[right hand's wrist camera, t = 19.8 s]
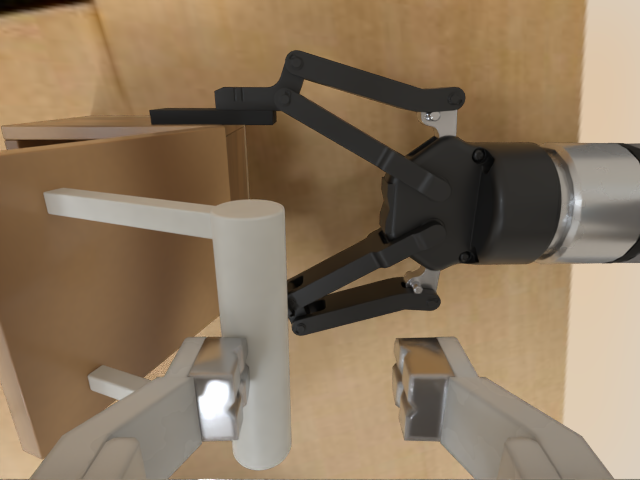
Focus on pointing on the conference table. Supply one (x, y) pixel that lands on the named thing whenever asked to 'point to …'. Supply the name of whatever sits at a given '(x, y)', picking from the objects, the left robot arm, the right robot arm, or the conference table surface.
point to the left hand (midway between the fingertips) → (170, 206)
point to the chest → (127, 126)
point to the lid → (135, 280)
